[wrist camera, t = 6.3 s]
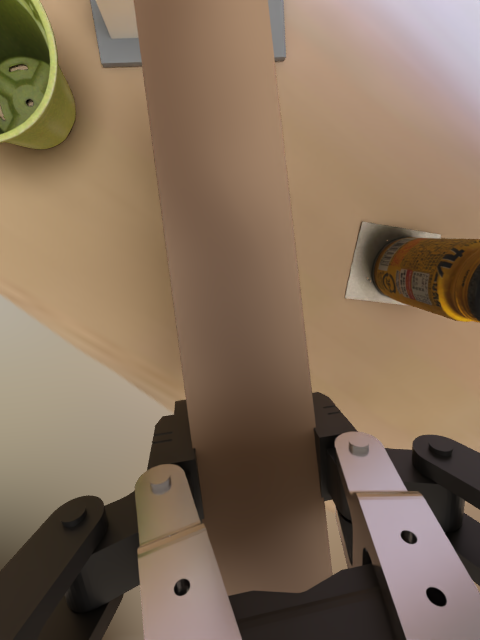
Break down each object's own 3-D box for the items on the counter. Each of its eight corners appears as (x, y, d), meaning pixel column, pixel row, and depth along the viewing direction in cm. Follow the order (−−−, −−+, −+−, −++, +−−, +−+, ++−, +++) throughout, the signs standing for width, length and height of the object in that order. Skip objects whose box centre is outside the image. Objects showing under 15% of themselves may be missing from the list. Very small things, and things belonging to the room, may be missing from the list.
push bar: (232, 13, 14) (250, -156, 9) (296, 557, 15) (344, 683, 10) (145, 15, 13) (112, -162, 8) (218, 574, 14) (227, 714, 9)
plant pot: (71, 17, 23) (4, -103, 15) (118, 156, 26) (83, 120, 18) (-62, 46, 23) (-208, -62, 14) (1, 186, 25) (-92, 163, 17)
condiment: (419, 306, 33) (538, 344, 22) (344, 297, 32) (429, 333, 20) (439, 234, 32) (580, 234, 20) (360, 221, 30) (463, 213, 19)
